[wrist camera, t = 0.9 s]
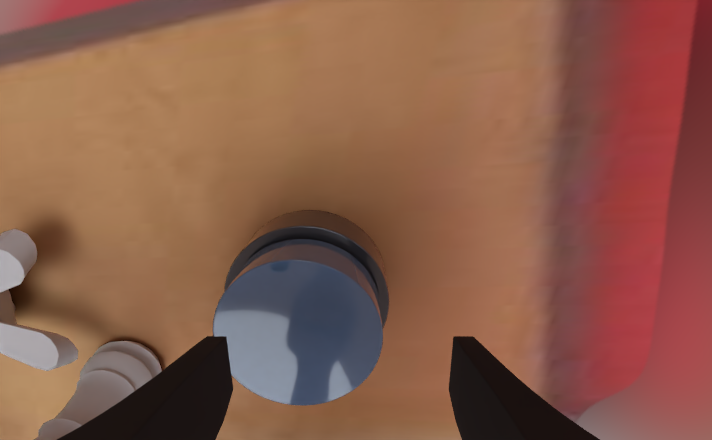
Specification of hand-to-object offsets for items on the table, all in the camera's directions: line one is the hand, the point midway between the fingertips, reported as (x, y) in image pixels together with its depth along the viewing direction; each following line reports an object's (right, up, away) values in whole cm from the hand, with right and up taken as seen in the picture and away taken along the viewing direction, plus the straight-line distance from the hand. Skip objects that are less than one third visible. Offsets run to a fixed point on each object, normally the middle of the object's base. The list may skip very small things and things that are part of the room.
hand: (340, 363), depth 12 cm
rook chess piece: (-14, -5, +12) cm, 19 cm away
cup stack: (-2, +1, +10) cm, 10 cm away
